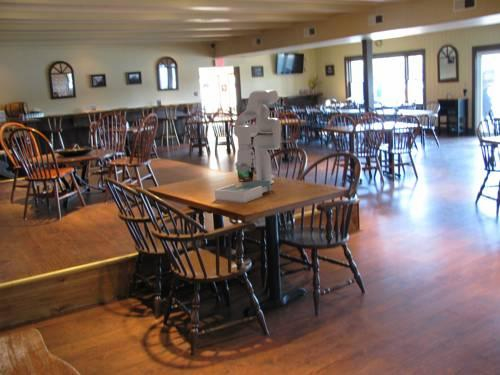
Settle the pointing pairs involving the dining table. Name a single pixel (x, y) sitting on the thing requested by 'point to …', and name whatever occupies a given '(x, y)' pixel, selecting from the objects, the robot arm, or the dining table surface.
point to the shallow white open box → (237, 194)
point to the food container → (243, 173)
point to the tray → (252, 186)
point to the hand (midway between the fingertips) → (246, 177)
